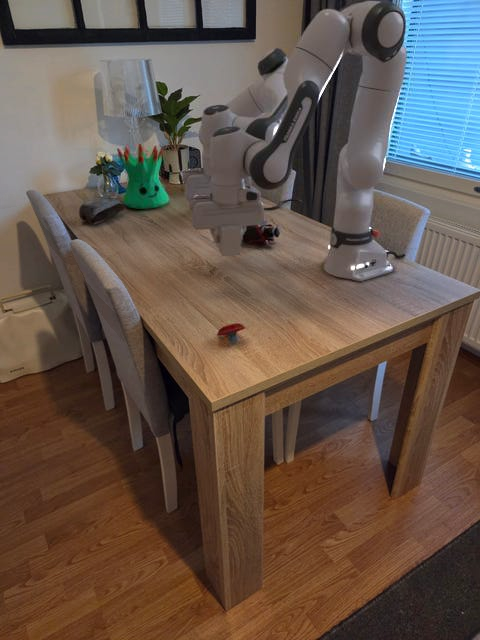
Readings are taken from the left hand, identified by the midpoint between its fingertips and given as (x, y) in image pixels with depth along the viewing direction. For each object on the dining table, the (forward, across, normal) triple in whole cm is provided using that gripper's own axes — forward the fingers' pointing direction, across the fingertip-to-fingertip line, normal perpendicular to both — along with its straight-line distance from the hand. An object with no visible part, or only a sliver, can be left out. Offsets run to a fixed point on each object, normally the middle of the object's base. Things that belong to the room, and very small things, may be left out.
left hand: (218, 213), depth 137 cm
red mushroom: (+18, -6, -43) cm, 47 cm away
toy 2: (+18, +17, +15) cm, 29 cm away
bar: (+6, 0, -8) cm, 10 cm away
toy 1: (+18, -20, +74) cm, 78 cm away
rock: (+18, -38, +56) cm, 70 cm away
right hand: (+3, 0, -15) cm, 16 cm away
